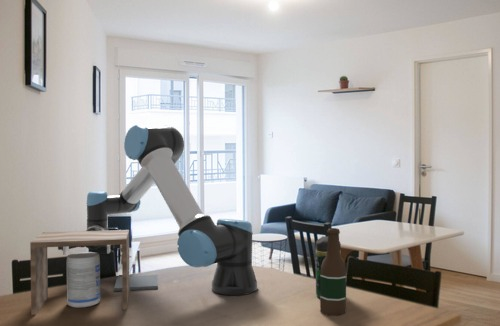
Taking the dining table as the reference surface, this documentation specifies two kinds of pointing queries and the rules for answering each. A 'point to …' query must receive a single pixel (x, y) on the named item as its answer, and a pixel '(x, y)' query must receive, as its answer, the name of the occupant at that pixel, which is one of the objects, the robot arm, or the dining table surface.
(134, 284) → the mat
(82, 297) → the supplement tub
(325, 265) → the beer bottle
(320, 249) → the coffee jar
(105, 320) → the dining table surface
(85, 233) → the shelf
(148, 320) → the dining table surface
